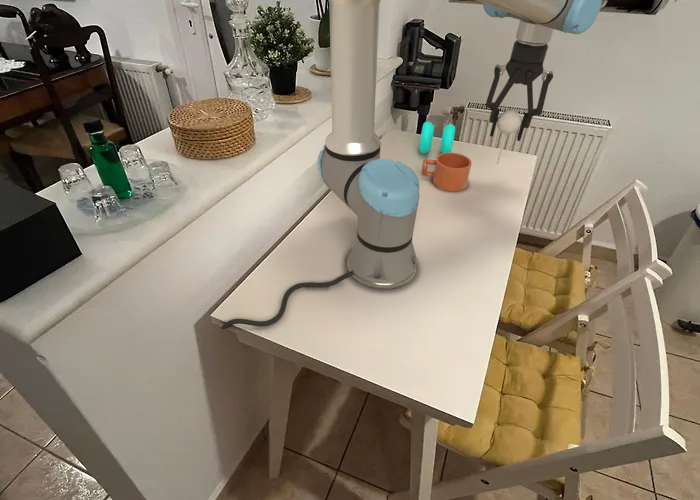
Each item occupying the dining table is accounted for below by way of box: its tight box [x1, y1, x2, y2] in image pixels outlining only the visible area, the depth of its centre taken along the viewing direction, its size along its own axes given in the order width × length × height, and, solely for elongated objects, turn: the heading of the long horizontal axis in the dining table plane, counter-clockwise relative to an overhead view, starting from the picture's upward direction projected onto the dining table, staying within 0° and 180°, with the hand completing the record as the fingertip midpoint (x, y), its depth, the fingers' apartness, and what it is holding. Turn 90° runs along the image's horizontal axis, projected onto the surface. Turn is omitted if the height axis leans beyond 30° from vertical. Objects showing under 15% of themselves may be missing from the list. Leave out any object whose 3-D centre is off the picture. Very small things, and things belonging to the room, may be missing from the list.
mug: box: [420, 152, 473, 192], centre depth 122 cm, size 13×10×7 cm
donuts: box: [418, 120, 456, 155], centre depth 135 cm, size 10×10×10 cm
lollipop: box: [496, 109, 522, 165], centre depth 113 cm, size 6×6×15 cm
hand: (505, 136), depth 113 cm, fingers closed on lollipop, 6 cm apart
